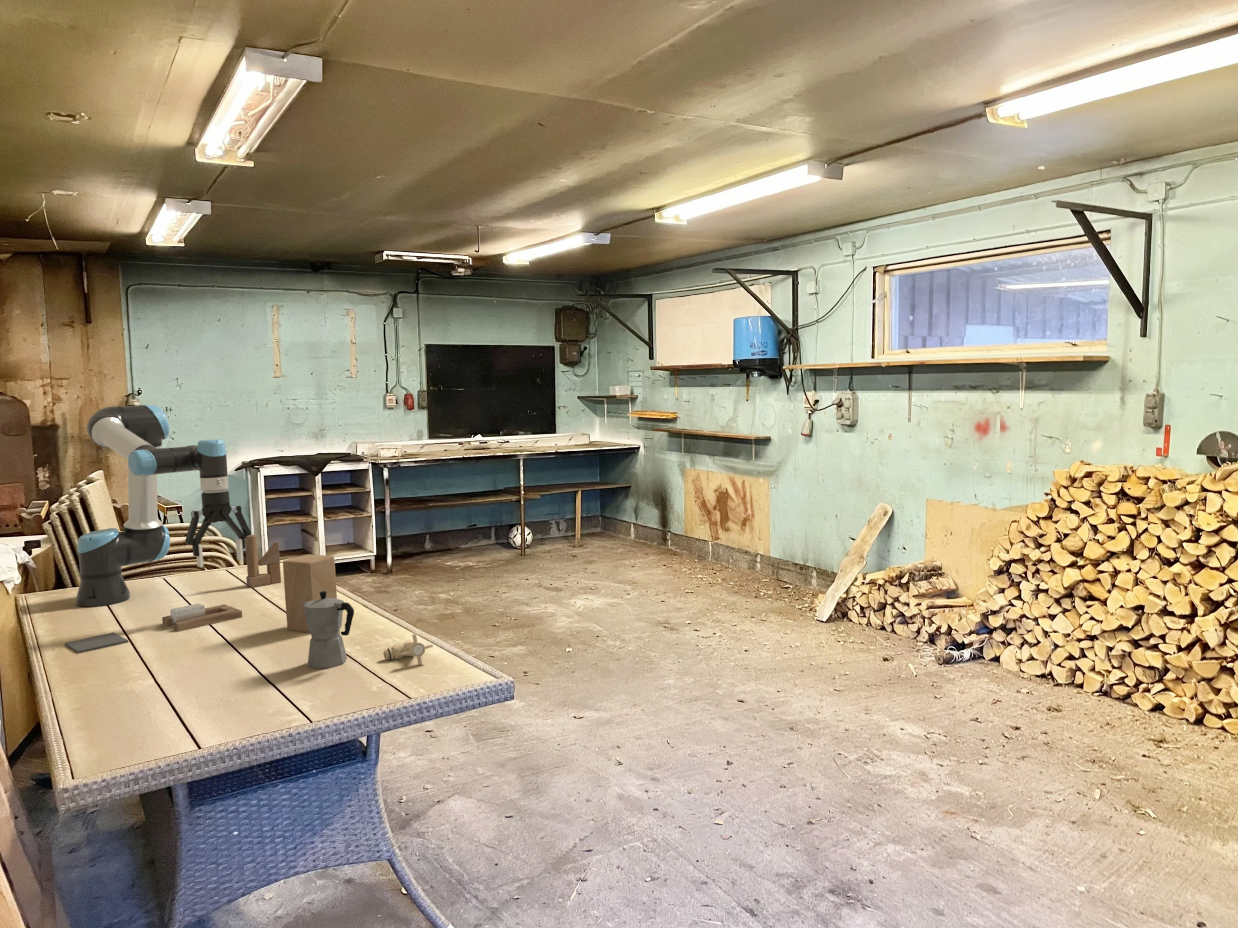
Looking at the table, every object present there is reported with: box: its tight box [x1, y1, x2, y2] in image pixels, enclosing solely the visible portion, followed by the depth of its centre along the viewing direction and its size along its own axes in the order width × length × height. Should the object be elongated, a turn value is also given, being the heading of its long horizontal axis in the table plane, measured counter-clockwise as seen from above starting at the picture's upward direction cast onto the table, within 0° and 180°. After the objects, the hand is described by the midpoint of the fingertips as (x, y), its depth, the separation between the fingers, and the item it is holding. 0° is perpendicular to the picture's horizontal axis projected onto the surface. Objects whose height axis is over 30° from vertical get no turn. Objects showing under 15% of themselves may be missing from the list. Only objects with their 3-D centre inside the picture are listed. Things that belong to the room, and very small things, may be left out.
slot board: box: [161, 604, 243, 632], centre depth 251 cm, size 13×18×2 cm
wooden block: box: [282, 553, 338, 634], centre depth 239 cm, size 10×10×20 cm
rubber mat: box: [64, 632, 129, 654], centre depth 230 cm, size 12×12×1 cm
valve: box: [383, 633, 434, 666], centre depth 208 cm, size 8×12×10 cm
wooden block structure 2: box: [245, 534, 282, 589], centre depth 296 cm, size 4×11×18 cm, turn 132°
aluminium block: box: [169, 603, 206, 627], centre depth 248 cm, size 4×8×5 cm, turn 138°
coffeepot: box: [302, 591, 355, 670], centre depth 207 cm, size 15×9×18 cm, turn 68°
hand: (220, 563), depth 254 cm, fingers open, 11 cm apart
